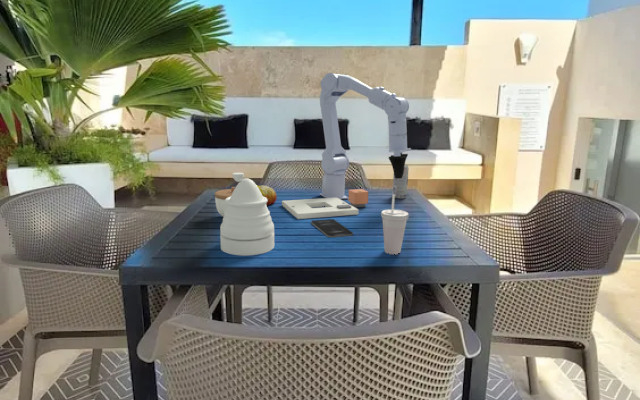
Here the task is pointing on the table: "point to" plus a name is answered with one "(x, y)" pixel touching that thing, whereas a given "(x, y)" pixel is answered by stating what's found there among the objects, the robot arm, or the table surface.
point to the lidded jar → (222, 199)
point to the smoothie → (393, 228)
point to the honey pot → (246, 220)
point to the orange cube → (358, 197)
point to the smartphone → (331, 228)
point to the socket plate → (332, 208)
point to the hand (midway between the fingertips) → (399, 177)
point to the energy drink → (401, 185)
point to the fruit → (268, 194)
